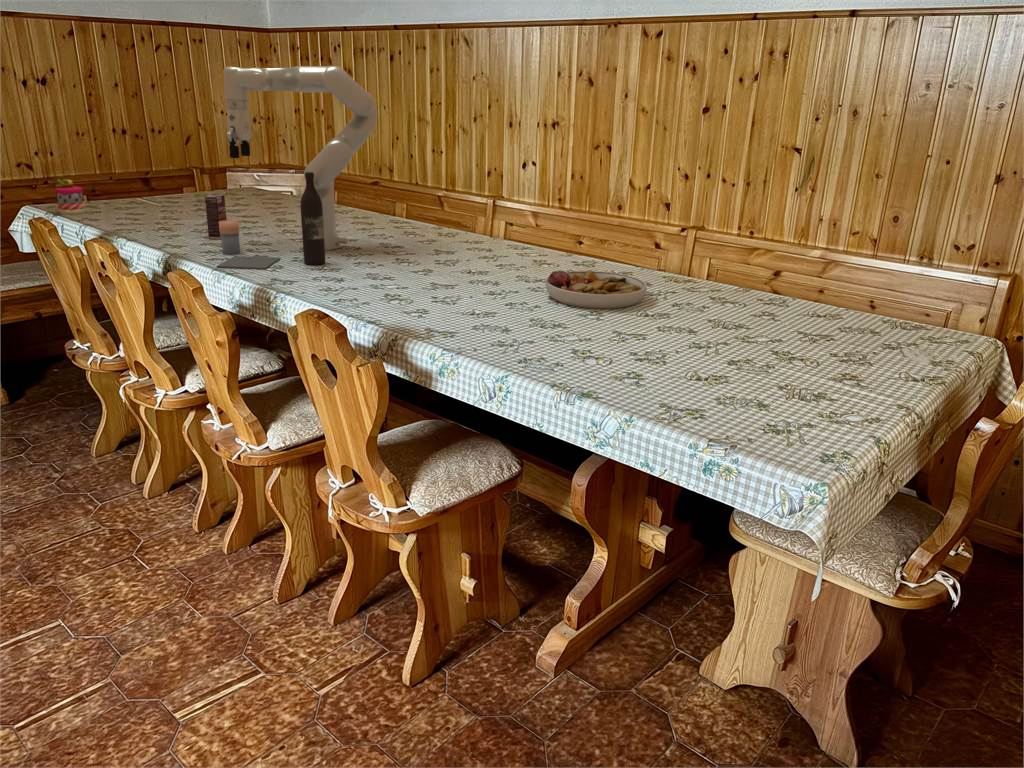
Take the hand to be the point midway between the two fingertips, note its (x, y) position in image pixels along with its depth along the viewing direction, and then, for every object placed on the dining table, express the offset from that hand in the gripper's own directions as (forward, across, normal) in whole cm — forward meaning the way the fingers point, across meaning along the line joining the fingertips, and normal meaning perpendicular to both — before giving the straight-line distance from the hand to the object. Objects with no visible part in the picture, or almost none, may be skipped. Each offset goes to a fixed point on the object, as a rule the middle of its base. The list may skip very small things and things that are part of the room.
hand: (240, 156), depth 277 cm
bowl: (+29, -49, -126) cm, 139 cm away
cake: (+35, +56, +100) cm, 119 cm away
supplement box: (+33, +17, +17) cm, 41 cm away
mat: (+32, -25, -11) cm, 42 cm away
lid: (+25, -10, +2) cm, 27 cm away
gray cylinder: (+32, -10, +1) cm, 34 cm away
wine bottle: (+32, -20, -32) cm, 49 cm away
